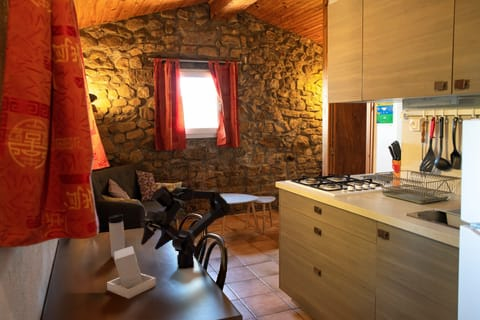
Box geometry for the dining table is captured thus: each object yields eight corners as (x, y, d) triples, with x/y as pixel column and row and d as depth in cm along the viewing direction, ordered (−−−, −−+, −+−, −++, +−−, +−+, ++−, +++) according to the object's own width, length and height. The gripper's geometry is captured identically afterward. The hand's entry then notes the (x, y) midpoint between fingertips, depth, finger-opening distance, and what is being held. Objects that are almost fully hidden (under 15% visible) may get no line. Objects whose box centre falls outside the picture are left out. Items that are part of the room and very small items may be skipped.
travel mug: (121, 259, 173) (118, 216, 171) (108, 258, 175) (105, 216, 173) (128, 254, 180) (125, 213, 177) (115, 253, 181) (112, 212, 179)
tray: (134, 278, 152) (134, 270, 151) (155, 285, 144) (155, 277, 144) (107, 290, 142) (106, 282, 141) (128, 298, 134) (127, 290, 134)
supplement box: (143, 283, 141) (134, 253, 138) (123, 290, 139) (113, 260, 136) (141, 273, 148) (133, 245, 145) (122, 279, 146) (113, 251, 143)
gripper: (143, 199, 156) (121, 232, 149) (171, 205, 144) (149, 241, 137) (160, 214, 163) (140, 246, 156) (188, 220, 150) (168, 255, 143)
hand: (148, 246), depth 148 cm, fingers open, 9 cm apart
